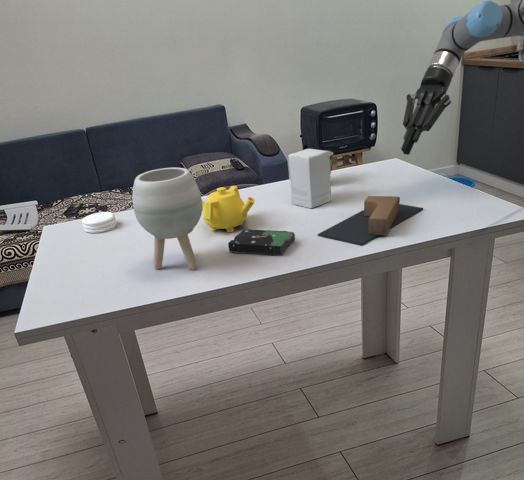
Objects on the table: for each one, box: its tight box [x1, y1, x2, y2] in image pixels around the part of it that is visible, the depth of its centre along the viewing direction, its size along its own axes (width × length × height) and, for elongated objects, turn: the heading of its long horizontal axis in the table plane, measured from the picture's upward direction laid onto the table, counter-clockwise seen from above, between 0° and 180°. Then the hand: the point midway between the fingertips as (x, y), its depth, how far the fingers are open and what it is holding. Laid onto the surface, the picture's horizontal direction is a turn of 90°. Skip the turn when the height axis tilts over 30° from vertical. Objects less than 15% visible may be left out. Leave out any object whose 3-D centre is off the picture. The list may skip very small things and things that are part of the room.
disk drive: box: [227, 228, 296, 256], centre depth 139 cm, size 10×3×15 cm
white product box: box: [288, 148, 332, 209], centre depth 162 cm, size 9×9×15 cm
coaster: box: [81, 211, 118, 234], centre depth 165 cm, size 10×10×4 cm
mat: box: [317, 203, 424, 247], centre depth 146 cm, size 14×30×1 cm, turn 137°
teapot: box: [202, 185, 255, 233], centre depth 152 cm, size 20×18×11 cm
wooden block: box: [363, 195, 401, 236], centre depth 143 cm, size 9×4×18 cm
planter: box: [132, 167, 203, 271], centre depth 130 cm, size 16×16×22 cm
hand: (405, 151), depth 147 cm, fingers closed
